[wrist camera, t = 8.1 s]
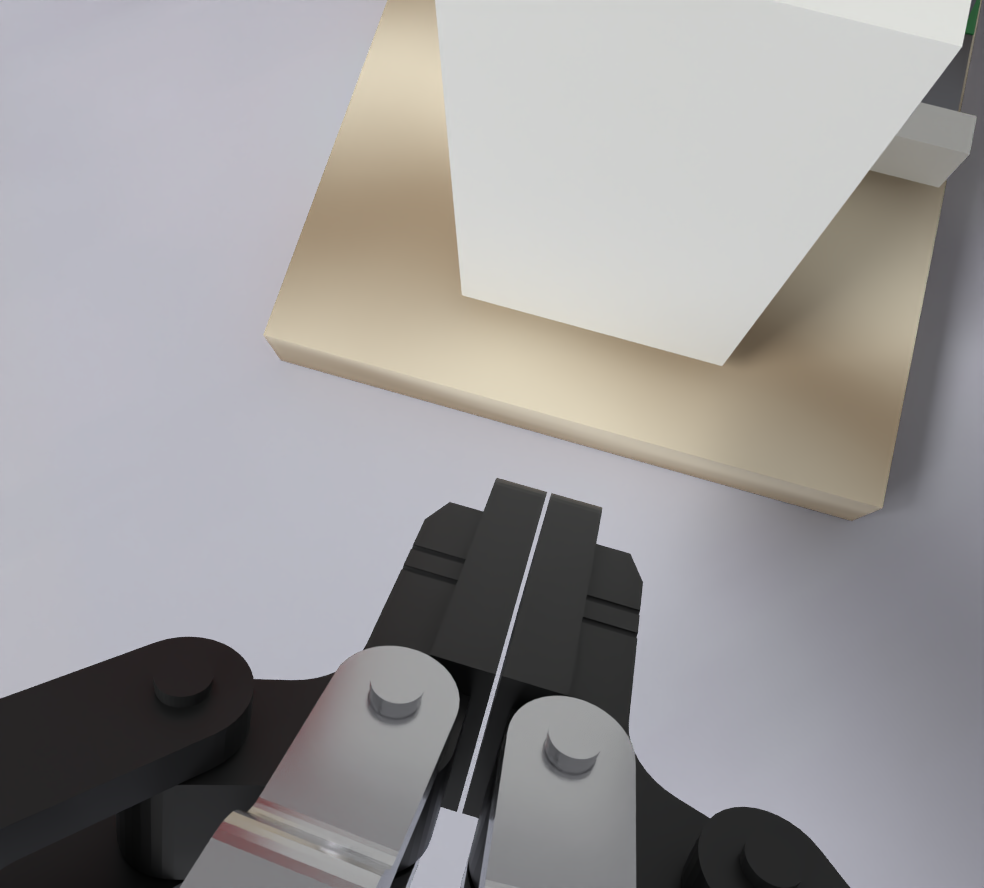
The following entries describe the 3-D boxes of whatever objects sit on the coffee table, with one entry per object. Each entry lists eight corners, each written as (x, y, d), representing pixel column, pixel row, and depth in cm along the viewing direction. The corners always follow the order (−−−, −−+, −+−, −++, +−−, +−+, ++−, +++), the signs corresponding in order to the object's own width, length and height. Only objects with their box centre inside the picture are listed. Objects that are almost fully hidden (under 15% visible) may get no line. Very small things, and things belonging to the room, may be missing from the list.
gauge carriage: (894, 413, 17) (1328, 135, 8) (462, 295, 17) (426, -84, 9) (962, 65, 18) (1384, -477, 10) (566, -32, 19) (627, -627, 10)
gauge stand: (851, 521, 18) (886, 506, 17) (280, 360, 19) (260, 331, 18) (988, -155, 22) (1028, -221, 20) (508, -264, 23) (508, -336, 21)
